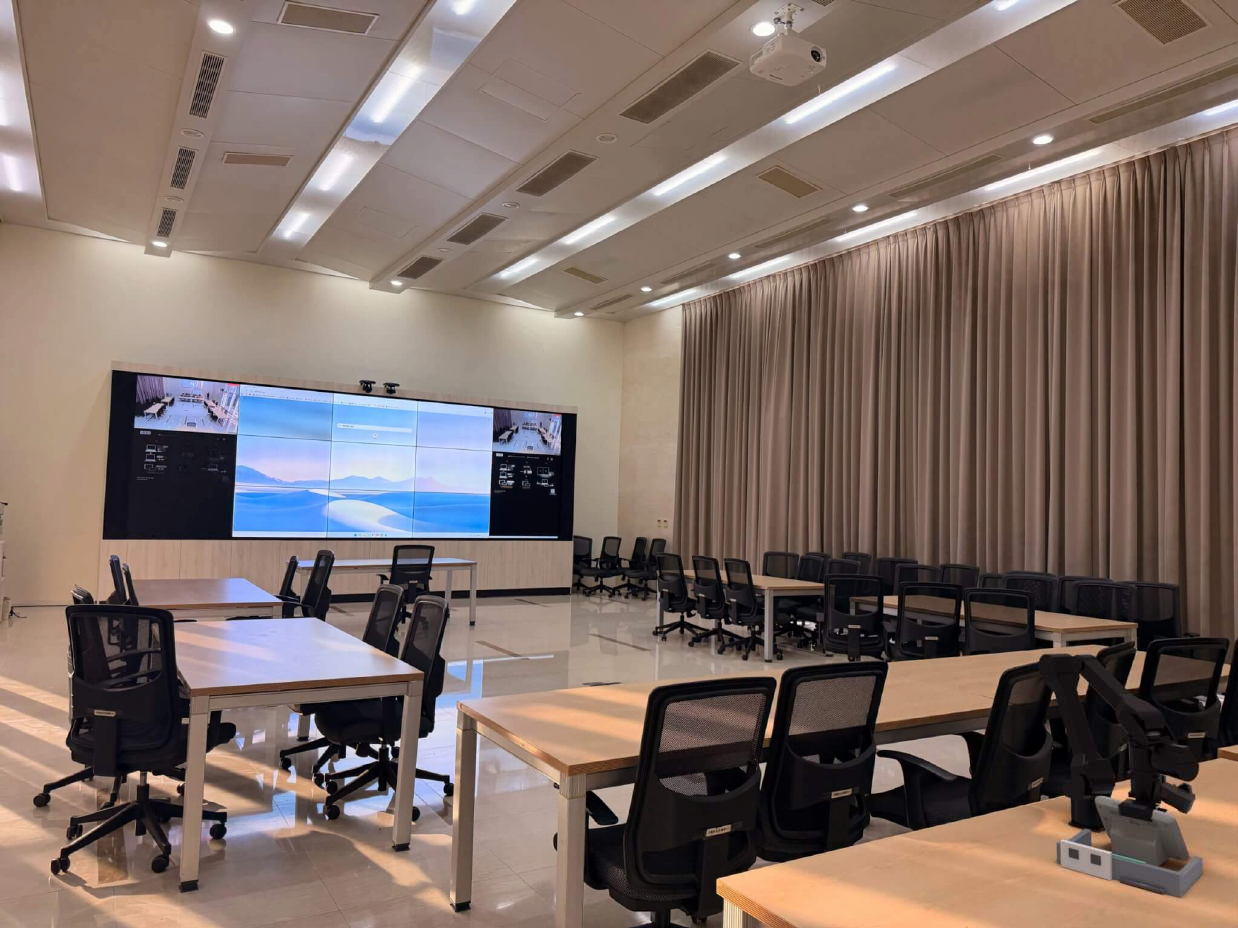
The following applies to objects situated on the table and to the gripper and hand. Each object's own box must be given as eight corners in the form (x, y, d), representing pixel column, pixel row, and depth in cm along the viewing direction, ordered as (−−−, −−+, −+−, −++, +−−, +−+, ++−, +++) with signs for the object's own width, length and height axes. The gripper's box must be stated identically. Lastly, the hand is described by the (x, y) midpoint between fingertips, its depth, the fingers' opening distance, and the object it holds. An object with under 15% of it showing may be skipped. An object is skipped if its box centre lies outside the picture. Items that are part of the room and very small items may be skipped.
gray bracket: (1054, 864, 169) (1053, 839, 170) (1085, 842, 182) (1084, 818, 182) (1177, 899, 154) (1176, 871, 154) (1202, 872, 166) (1201, 846, 166)
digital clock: (1196, 862, 168) (1189, 810, 168) (1165, 876, 165) (1158, 824, 165) (1121, 831, 183) (1115, 784, 183) (1092, 844, 180) (1085, 796, 180)
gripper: (1178, 785, 166) (1182, 866, 165) (1200, 767, 179) (1204, 842, 178) (1115, 773, 174) (1119, 851, 173) (1141, 756, 187) (1144, 829, 186)
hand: (1149, 843), depth 177 cm, fingers closed, pressing on digital clock
